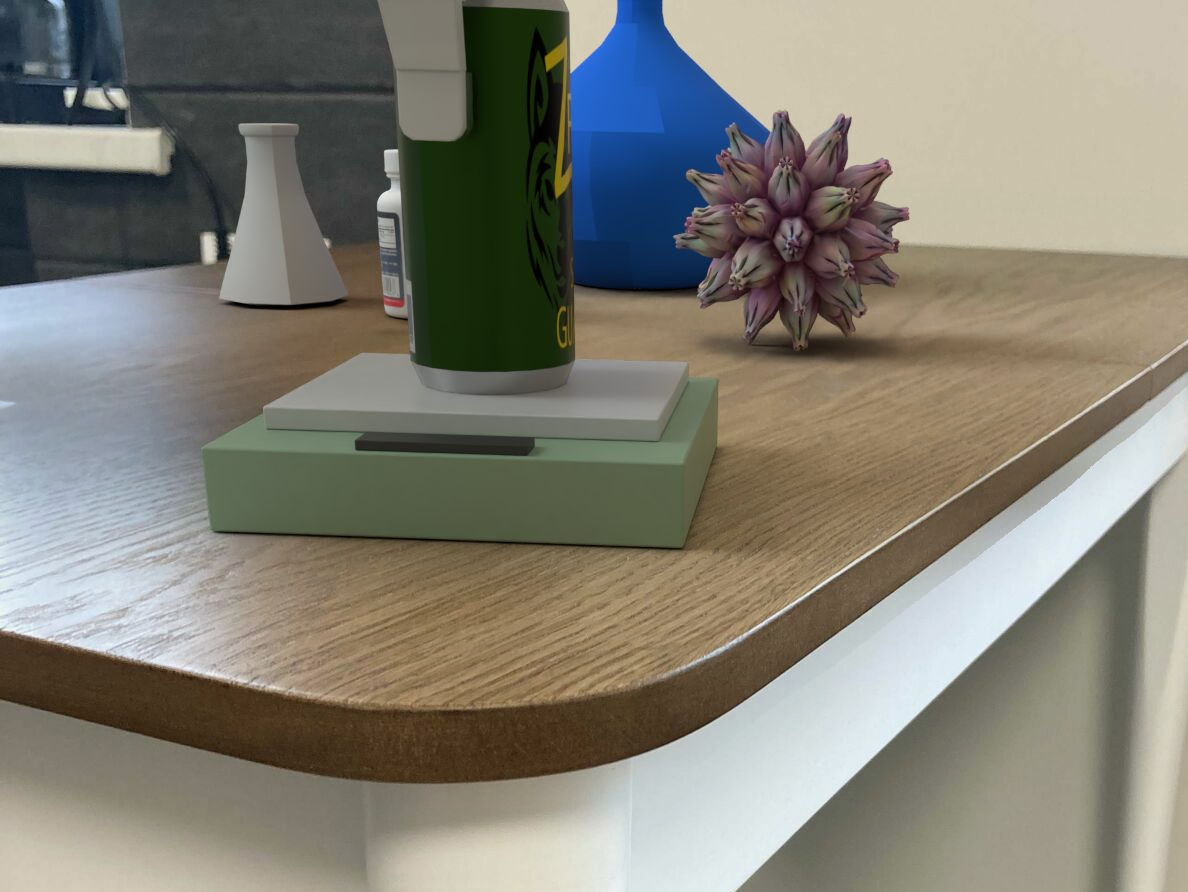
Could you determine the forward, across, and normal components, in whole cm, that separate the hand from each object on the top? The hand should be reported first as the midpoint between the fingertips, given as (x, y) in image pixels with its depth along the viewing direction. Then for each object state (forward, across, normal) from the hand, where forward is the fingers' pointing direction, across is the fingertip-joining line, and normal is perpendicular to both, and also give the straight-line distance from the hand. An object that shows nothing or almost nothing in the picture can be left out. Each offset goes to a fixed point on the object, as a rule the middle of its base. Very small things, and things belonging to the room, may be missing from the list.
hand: (474, 135), depth 47 cm
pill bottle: (+11, -39, -12) cm, 42 cm away
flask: (+11, -43, -22) cm, 49 cm away
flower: (+11, -31, +10) cm, 34 cm away
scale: (+11, +1, 0) cm, 11 cm away
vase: (+11, -58, -2) cm, 59 cm away
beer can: (+8, 0, 0) cm, 8 cm away
